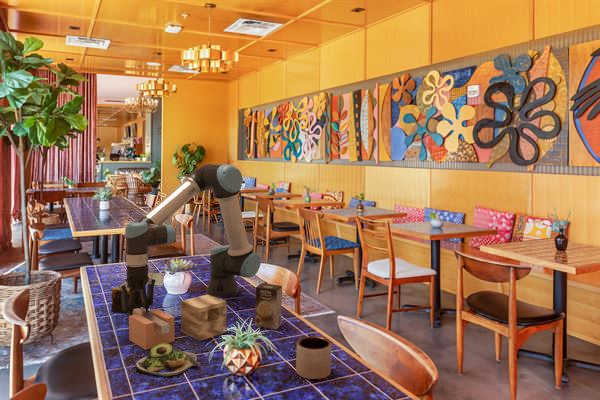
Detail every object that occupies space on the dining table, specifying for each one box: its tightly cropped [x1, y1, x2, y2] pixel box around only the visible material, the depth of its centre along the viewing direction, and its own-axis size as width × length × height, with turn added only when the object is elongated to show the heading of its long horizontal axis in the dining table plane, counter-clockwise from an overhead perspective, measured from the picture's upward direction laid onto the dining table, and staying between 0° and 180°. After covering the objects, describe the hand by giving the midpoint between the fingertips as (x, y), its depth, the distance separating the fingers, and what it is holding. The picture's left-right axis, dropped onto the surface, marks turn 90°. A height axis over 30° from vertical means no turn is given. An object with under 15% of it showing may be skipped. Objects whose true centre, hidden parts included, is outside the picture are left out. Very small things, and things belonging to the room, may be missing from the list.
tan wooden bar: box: [134, 308, 170, 334], centre depth 166 cm, size 3×22×3 cm, turn 47°
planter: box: [295, 335, 332, 380], centre depth 143 cm, size 11×11×10 cm
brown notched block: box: [180, 293, 227, 342], centre depth 174 cm, size 12×12×12 cm
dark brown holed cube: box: [111, 285, 143, 314], centre depth 198 cm, size 10×10×10 cm
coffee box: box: [254, 282, 283, 330], centre depth 181 cm, size 9×6×16 cm
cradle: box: [128, 308, 176, 351], centre depth 165 cm, size 11×12×9 cm
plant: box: [146, 262, 166, 286], centre depth 247 cm, size 25×21×9 cm
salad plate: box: [135, 343, 201, 377], centre depth 147 cm, size 19×18×5 cm
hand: (138, 326), depth 172 cm, fingers open, 3 cm apart
